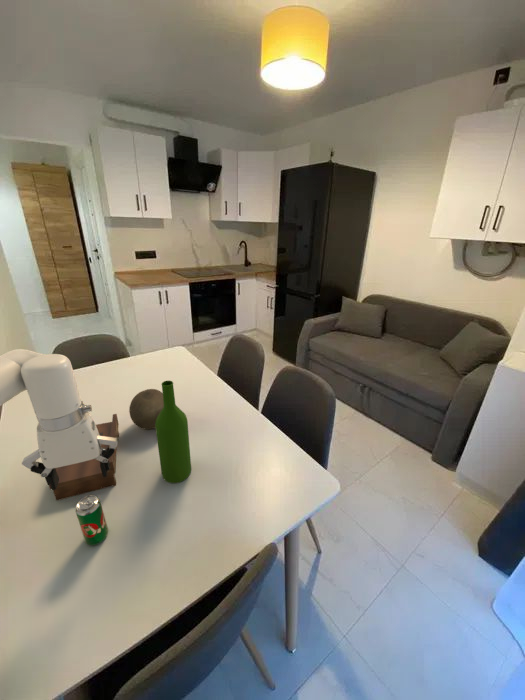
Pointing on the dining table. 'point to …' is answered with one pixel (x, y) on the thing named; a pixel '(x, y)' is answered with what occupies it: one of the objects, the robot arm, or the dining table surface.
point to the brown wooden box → (88, 469)
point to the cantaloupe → (146, 408)
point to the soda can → (91, 520)
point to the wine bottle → (173, 438)
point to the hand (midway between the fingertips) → (81, 478)
